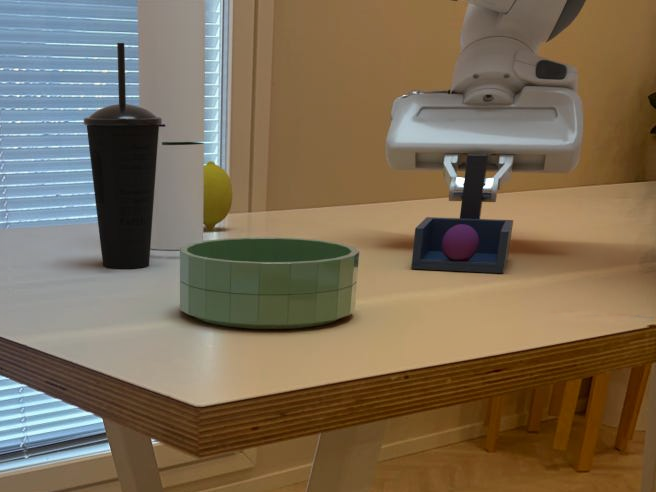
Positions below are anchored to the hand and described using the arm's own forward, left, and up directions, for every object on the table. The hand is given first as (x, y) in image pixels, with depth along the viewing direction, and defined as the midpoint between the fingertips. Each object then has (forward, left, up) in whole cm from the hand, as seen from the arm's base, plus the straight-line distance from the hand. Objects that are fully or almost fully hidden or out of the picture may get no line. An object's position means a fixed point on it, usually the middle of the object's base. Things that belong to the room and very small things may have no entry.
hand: (472, 197), depth 108 cm
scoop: (0, +5, -6) cm, 8 cm away
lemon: (+33, -14, -6) cm, 36 cm away
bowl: (+13, +36, -6) cm, 39 cm away
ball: (0, +8, -3) cm, 9 cm away
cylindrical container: (+33, +1, -6) cm, 34 cm away
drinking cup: (+33, +16, -6) cm, 37 cm away
